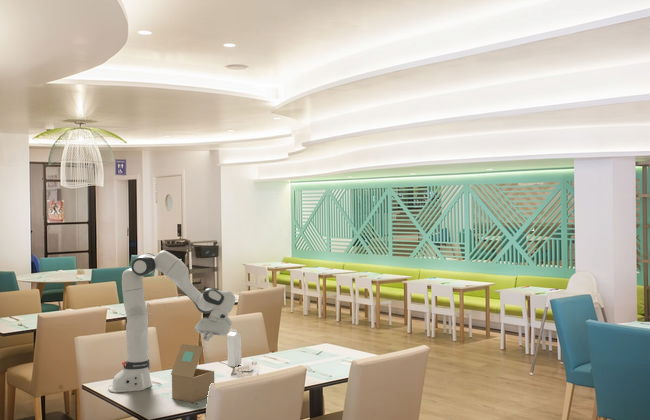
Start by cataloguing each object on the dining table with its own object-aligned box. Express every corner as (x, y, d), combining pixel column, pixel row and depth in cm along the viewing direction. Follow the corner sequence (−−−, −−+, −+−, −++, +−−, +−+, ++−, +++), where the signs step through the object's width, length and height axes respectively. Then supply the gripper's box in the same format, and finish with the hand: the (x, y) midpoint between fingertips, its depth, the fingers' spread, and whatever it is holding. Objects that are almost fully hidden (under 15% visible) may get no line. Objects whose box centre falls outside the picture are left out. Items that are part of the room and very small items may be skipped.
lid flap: (192, 378, 319) (191, 377, 319) (171, 374, 327) (170, 374, 326) (203, 346, 326) (202, 346, 325) (182, 344, 333) (181, 343, 333)
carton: (193, 402, 319) (192, 378, 319) (172, 398, 327) (171, 374, 327) (214, 394, 333) (214, 370, 333) (194, 390, 340) (193, 367, 340)
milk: (234, 364, 398) (234, 328, 398) (241, 365, 394) (241, 329, 395) (227, 366, 393) (226, 329, 393) (234, 367, 390) (234, 330, 390)
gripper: (199, 313, 350) (187, 334, 341) (229, 316, 339) (217, 338, 331) (205, 320, 354) (193, 341, 345) (234, 323, 343) (223, 345, 335)
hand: (205, 340), depth 338 cm, fingers closed
